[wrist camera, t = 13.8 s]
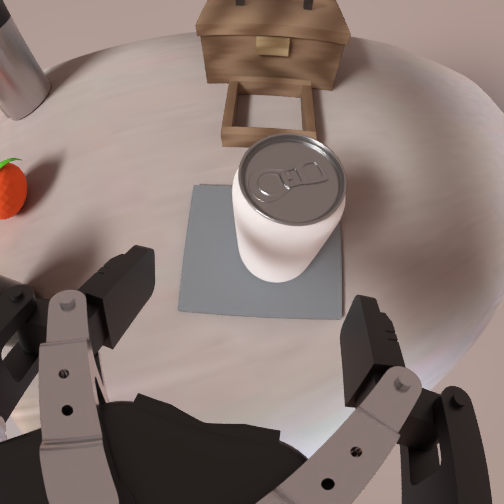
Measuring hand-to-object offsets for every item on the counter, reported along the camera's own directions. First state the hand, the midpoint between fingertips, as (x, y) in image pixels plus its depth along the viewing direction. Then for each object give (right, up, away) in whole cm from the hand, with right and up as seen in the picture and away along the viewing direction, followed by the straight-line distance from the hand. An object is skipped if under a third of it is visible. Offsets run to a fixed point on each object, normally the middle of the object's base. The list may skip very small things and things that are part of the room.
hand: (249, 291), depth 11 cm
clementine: (-30, +8, +18) cm, 35 cm away
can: (+2, +2, +15) cm, 15 cm away
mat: (+1, +2, +15) cm, 16 cm away
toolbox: (+2, +23, +22) cm, 32 cm away
